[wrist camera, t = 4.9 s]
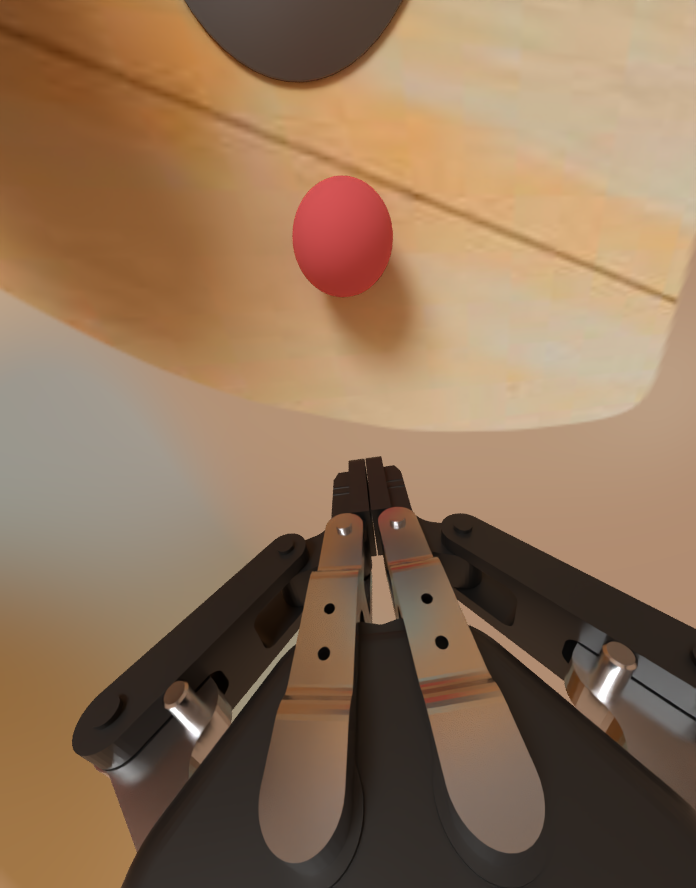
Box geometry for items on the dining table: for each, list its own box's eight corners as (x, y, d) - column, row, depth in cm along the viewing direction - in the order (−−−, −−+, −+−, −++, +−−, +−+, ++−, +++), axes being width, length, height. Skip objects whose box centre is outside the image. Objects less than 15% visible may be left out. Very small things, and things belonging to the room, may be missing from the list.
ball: (381, 181, 18) (393, 144, 13) (390, 286, 20) (404, 288, 16) (290, 202, 18) (268, 174, 13) (311, 301, 21) (299, 308, 16)
